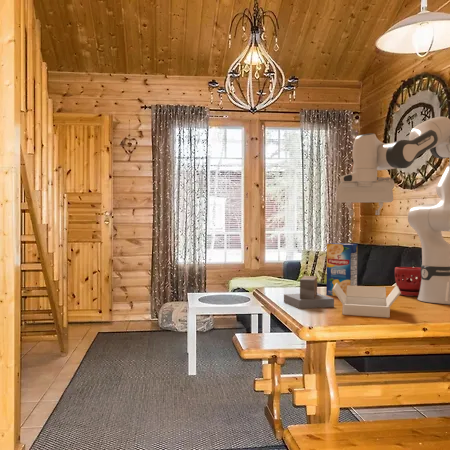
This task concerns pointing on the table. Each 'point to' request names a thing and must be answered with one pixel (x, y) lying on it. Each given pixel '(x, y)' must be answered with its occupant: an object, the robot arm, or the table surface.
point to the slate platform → (308, 301)
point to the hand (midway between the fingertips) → (364, 214)
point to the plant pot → (408, 280)
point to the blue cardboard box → (341, 266)
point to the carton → (366, 300)
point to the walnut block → (308, 287)
